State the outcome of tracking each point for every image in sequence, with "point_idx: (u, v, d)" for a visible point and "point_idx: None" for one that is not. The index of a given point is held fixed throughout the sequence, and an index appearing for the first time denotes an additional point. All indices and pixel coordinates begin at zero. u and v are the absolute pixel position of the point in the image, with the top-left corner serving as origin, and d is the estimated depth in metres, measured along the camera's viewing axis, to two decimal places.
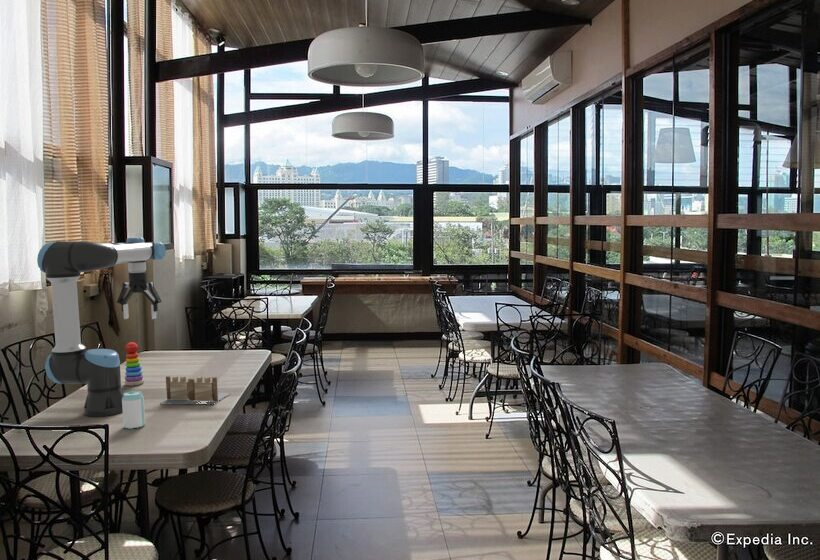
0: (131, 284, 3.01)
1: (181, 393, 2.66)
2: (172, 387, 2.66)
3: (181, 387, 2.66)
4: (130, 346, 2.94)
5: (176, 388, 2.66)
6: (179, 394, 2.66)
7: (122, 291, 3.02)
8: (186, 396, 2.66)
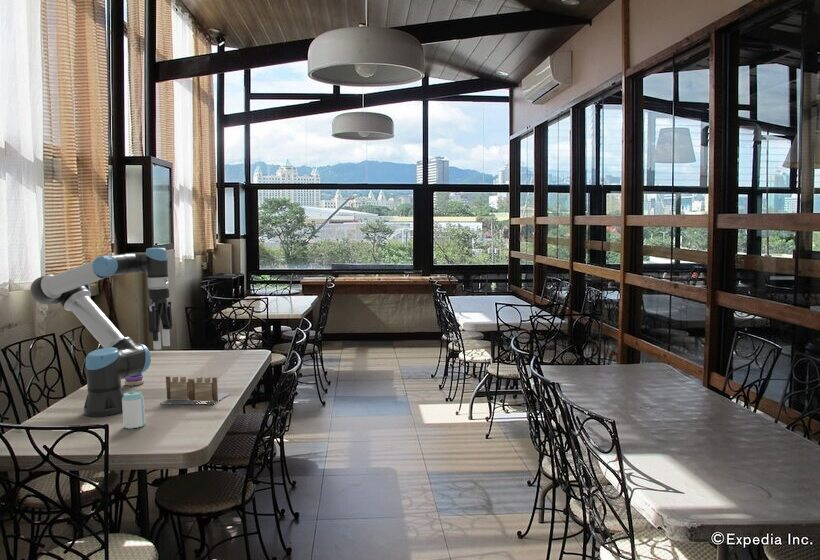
0: None
1: (181, 393, 2.66)
2: (172, 387, 2.66)
3: (181, 387, 2.66)
4: None
5: (176, 388, 2.66)
6: (179, 394, 2.66)
7: None
8: (186, 396, 2.66)
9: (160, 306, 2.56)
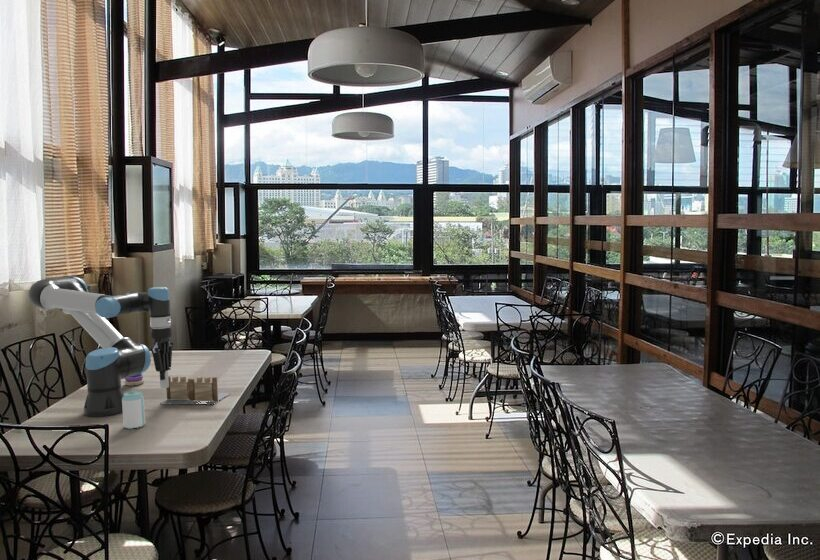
0: None
1: (181, 393, 2.66)
2: (172, 387, 2.66)
3: (181, 387, 2.66)
4: None
5: (176, 388, 2.66)
6: (179, 394, 2.66)
7: None
8: (186, 396, 2.66)
9: (163, 346, 2.57)
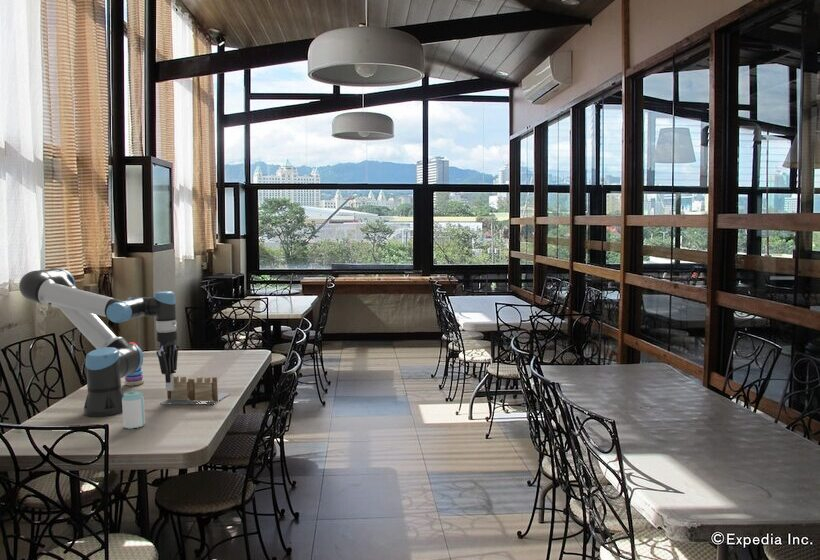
0: None
1: (181, 393, 2.66)
2: None
3: (181, 387, 2.66)
4: None
5: (176, 388, 2.66)
6: (179, 394, 2.66)
7: None
8: (186, 396, 2.66)
9: (168, 349, 2.61)
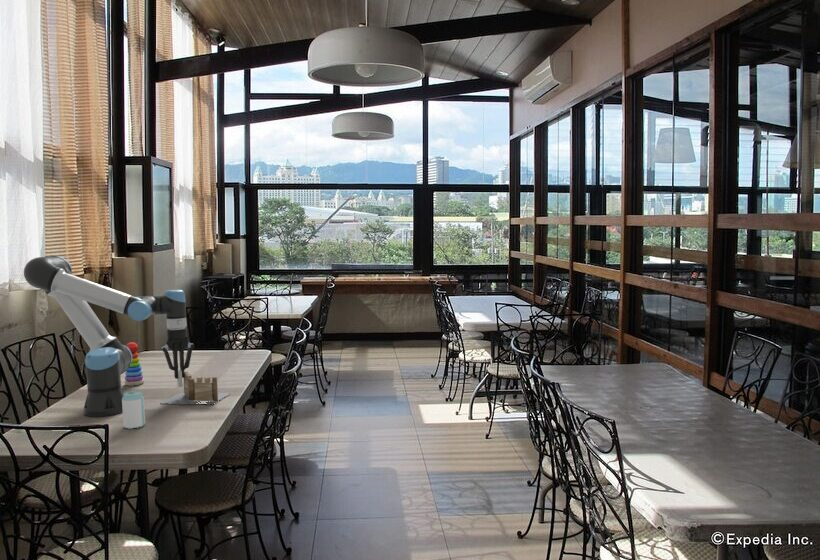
0: None
1: (187, 391, 2.69)
2: (185, 383, 2.72)
3: (187, 385, 2.69)
4: (130, 346, 2.94)
5: (186, 385, 2.71)
6: (187, 391, 2.70)
7: None
8: None
9: (174, 346, 2.67)
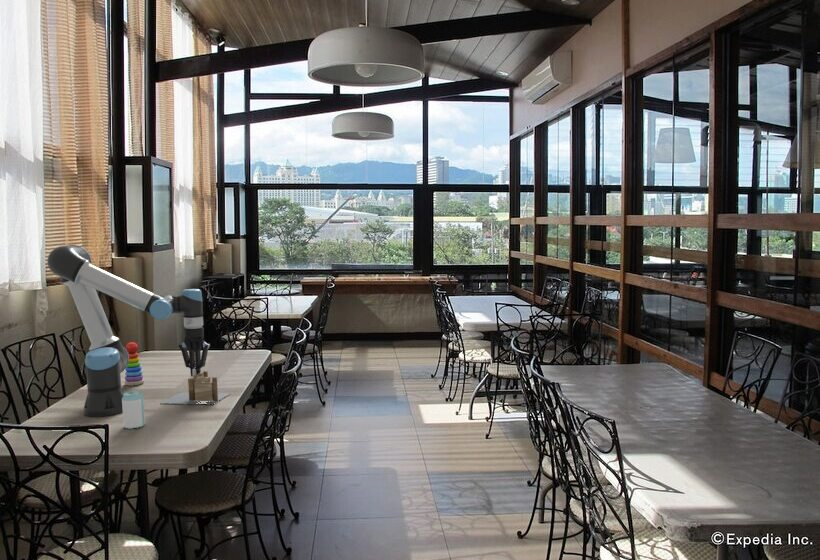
0: None
1: None
2: None
3: None
4: (130, 346, 2.94)
5: None
6: None
7: None
8: None
9: None
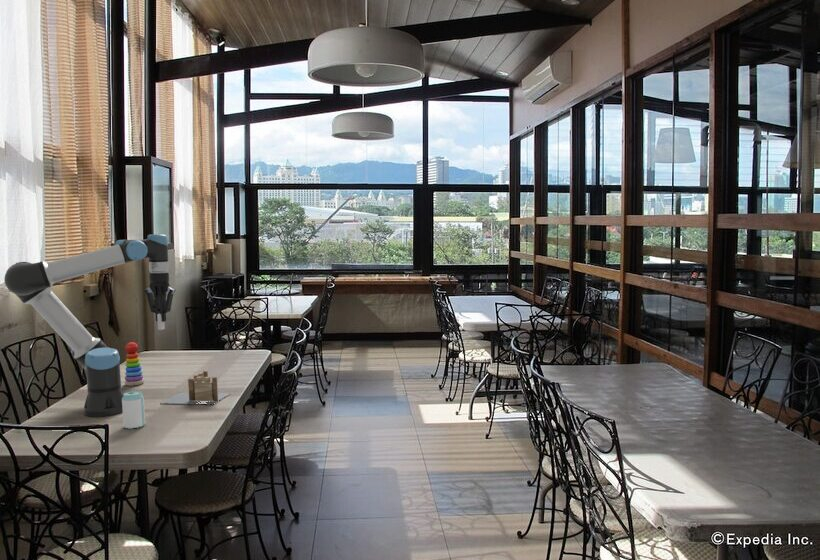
0: None
1: None
2: None
3: None
4: (130, 346, 2.94)
5: None
6: None
7: None
8: None
9: None
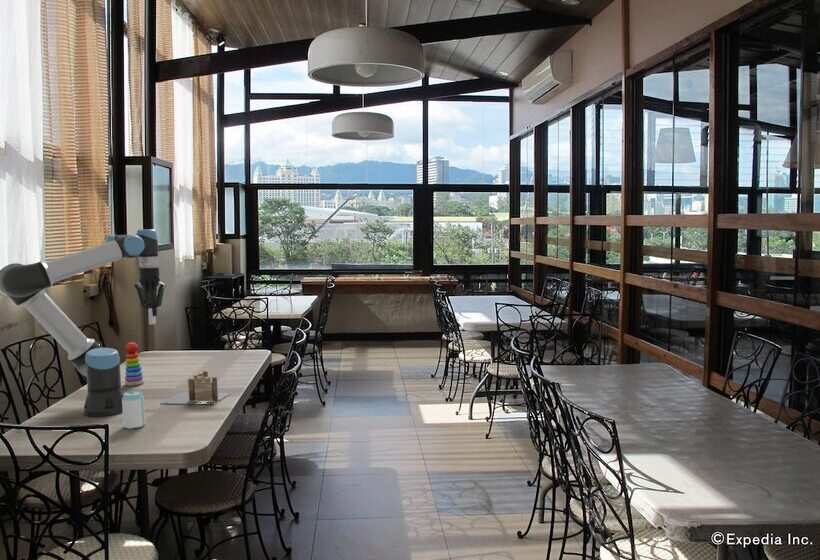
0: None
1: None
2: None
3: None
4: (130, 346, 2.94)
5: None
6: None
7: None
8: None
9: None
